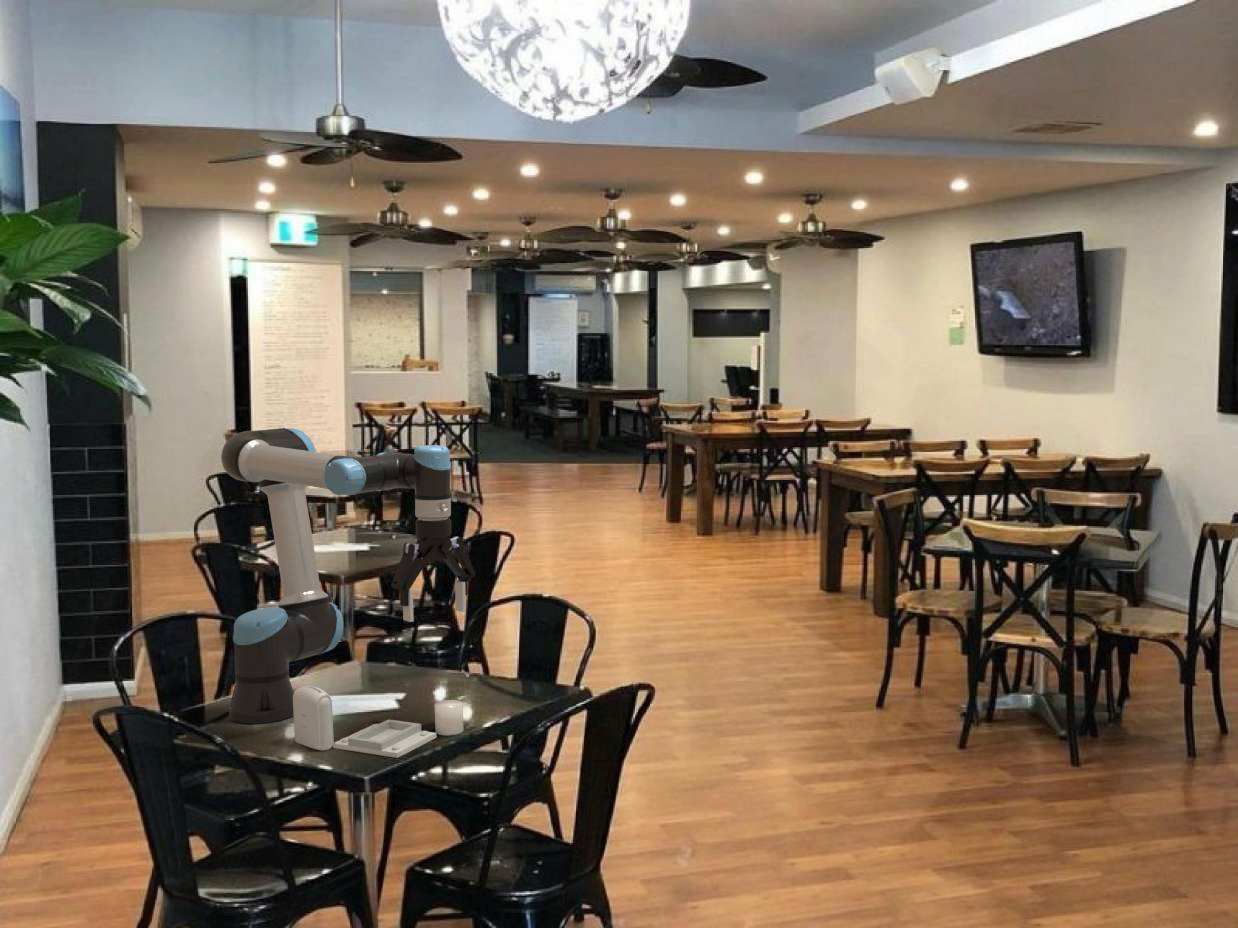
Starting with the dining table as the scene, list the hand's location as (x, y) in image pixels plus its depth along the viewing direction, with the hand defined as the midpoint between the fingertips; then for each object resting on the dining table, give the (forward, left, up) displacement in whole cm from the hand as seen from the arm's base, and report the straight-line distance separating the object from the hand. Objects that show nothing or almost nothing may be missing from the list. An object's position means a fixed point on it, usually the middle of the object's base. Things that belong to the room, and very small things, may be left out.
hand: (435, 615), depth 257 cm
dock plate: (-5, -13, -25) cm, 28 cm away
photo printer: (-18, -20, -25) cm, 36 cm away
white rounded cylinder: (+3, -1, -25) cm, 25 cm away
